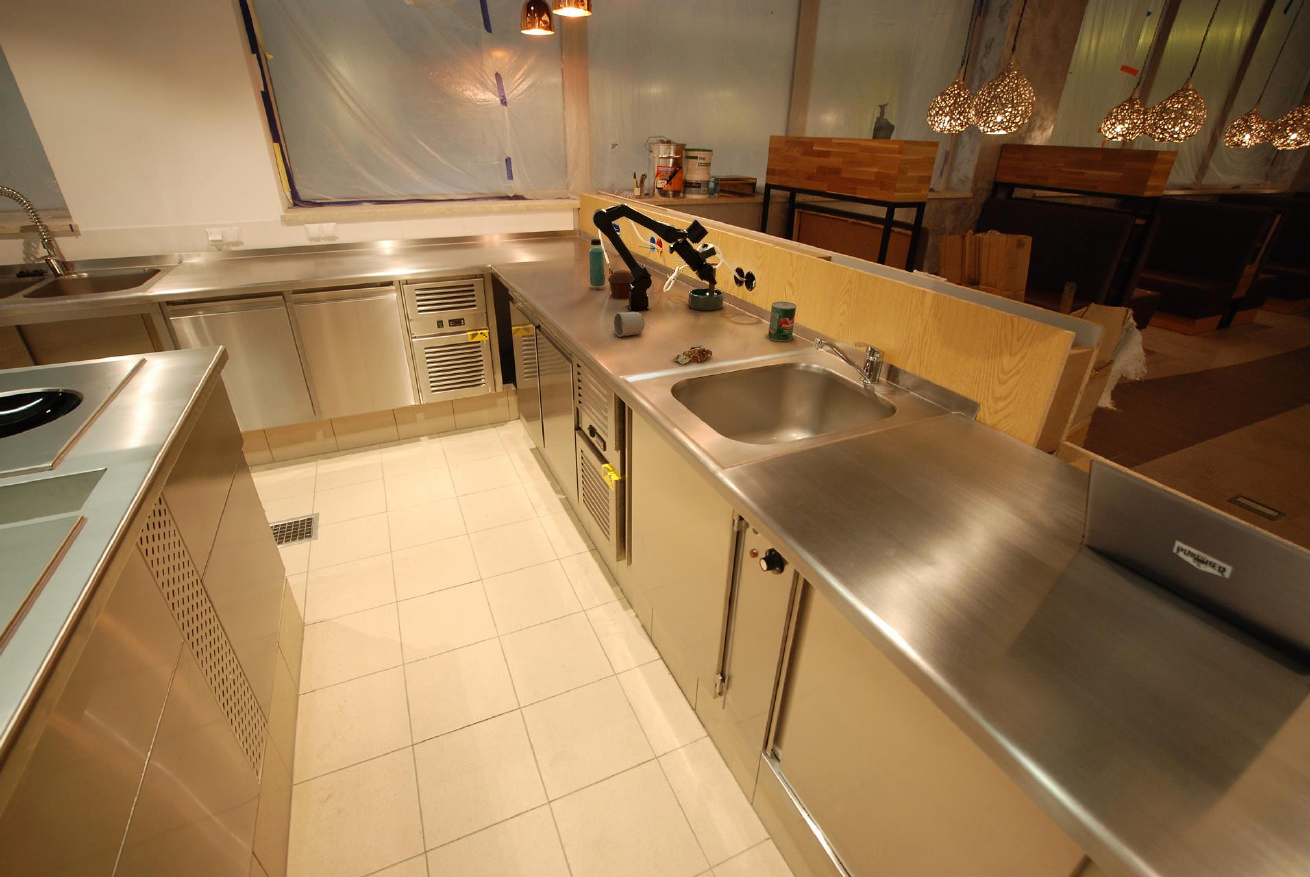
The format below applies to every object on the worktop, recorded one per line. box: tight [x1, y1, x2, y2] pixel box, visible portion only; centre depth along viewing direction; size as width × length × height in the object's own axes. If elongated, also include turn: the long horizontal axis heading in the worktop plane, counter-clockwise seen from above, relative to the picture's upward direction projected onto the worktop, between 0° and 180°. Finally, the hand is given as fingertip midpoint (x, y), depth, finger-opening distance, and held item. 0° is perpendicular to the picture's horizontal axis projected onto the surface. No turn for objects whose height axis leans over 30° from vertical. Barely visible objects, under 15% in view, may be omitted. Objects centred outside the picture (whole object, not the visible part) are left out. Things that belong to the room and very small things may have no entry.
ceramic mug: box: [613, 311, 645, 338], centre depth 189 cm, size 11×8×8 cm
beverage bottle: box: [588, 238, 606, 287], centre depth 239 cm, size 6×7×20 cm
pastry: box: [674, 344, 713, 365], centre depth 170 cm, size 7×12×4 cm, turn 134°
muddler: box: [705, 266, 717, 297], centre depth 217 cm, size 4×4×13 cm
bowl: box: [687, 287, 725, 312], centre depth 220 cm, size 13×13×6 cm
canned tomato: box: [767, 301, 797, 342], centre depth 187 cm, size 8×8×11 cm
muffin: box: [607, 269, 634, 300], centre depth 230 cm, size 12×11×10 cm
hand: (715, 283), depth 217 cm, fingers closed on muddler, 2 cm apart
